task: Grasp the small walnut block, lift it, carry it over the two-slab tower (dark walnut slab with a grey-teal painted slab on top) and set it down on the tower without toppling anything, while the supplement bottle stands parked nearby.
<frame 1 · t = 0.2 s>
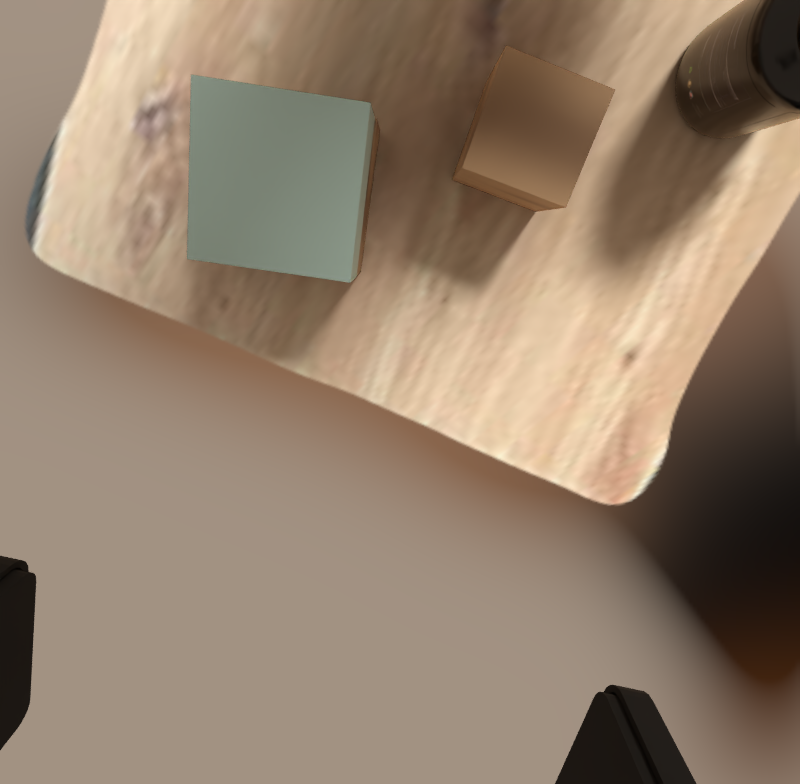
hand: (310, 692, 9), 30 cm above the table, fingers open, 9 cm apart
supplement bottle: (724, 81, 33), on the table
tower top slab: (290, 189, 32), point 4 cm above the table, touching tower base slab
walnut block: (511, 149, 34), on the table
tower base slab: (303, 192, 35), on the table, touching tower top slab
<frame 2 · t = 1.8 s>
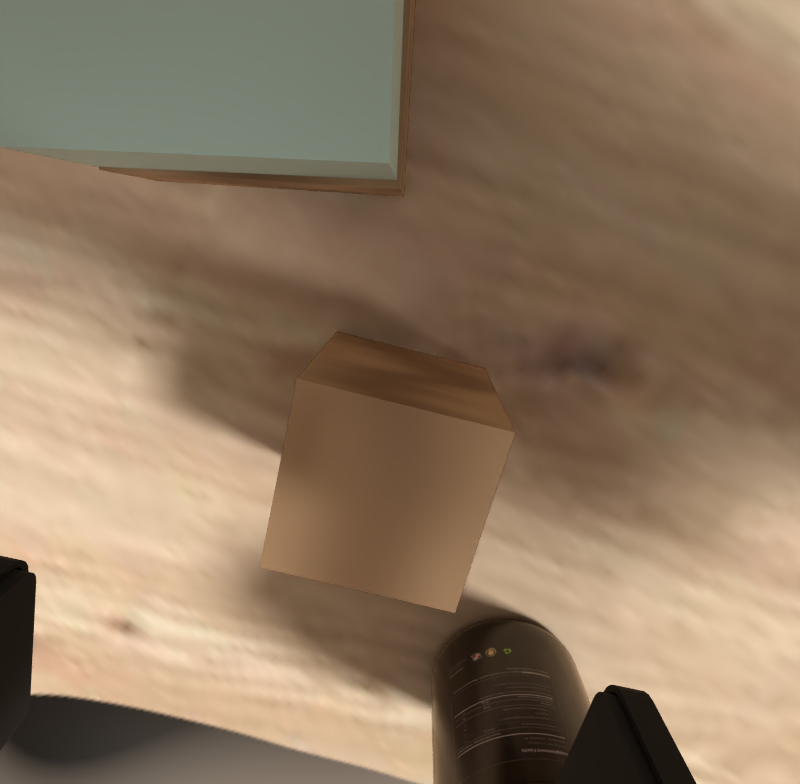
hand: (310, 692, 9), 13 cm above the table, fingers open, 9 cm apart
supplement bottle: (502, 668, 25), on the table
walnut block: (393, 419, 22), on the table
tower base slab: (282, 49, 18), on the table, touching tower top slab
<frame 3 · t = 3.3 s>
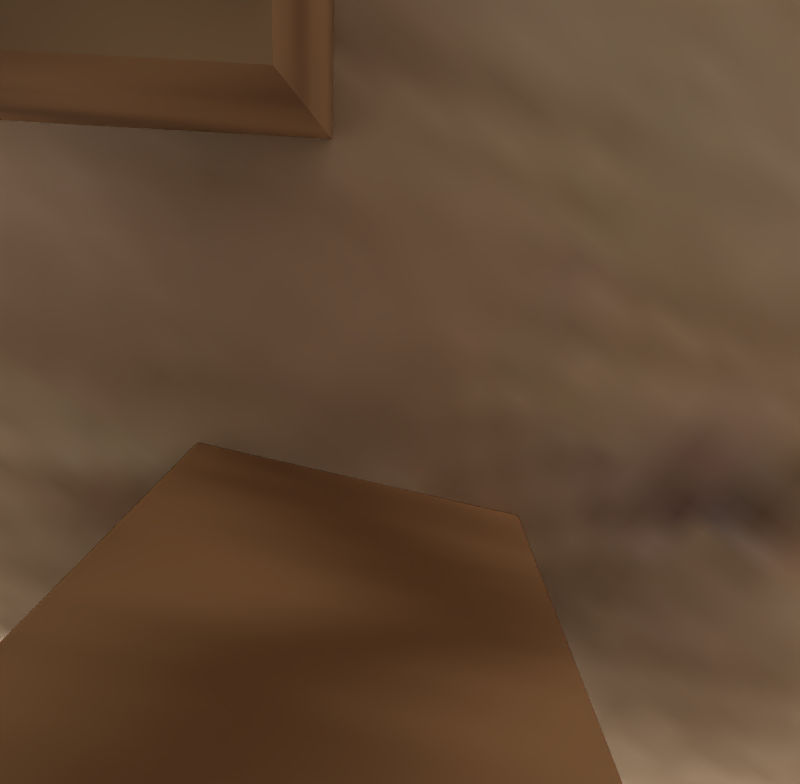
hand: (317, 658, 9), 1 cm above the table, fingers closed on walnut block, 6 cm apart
walnut block: (327, 612, 11), on the table, touching gripper
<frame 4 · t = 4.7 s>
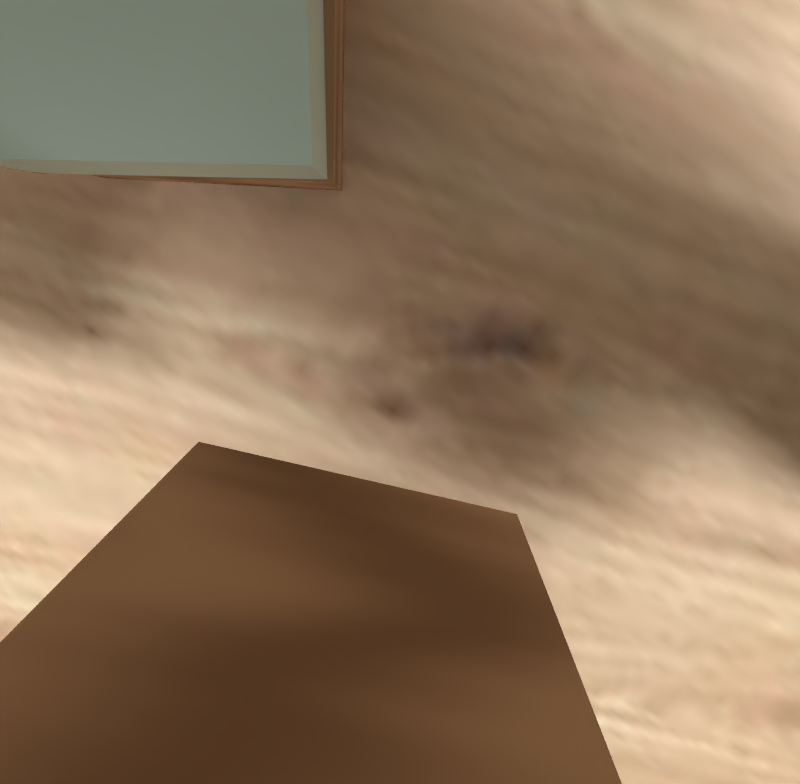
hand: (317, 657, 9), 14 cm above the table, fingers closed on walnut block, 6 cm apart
tower top slab: (170, 12, 16), point 4 cm above the table, touching tower base slab
walnut block: (328, 610, 11), point 13 cm above the table, touching gripper
tower base slab: (221, 53, 19), on the table, touching tower top slab
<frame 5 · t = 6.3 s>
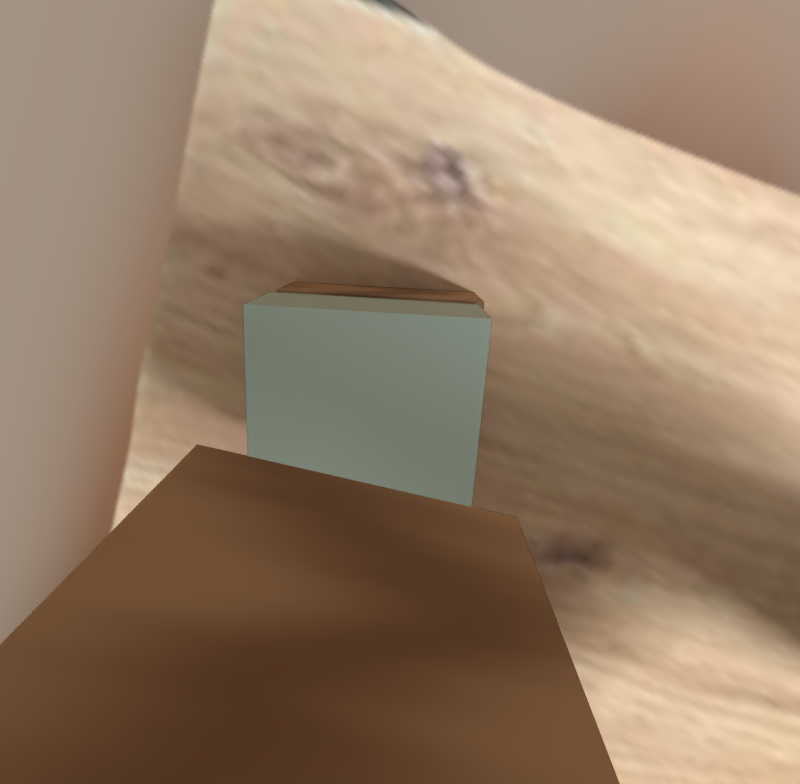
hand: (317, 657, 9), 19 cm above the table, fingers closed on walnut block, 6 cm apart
tower top slab: (370, 396, 24), point 4 cm above the table, touching tower base slab
walnut block: (327, 613, 11), point 18 cm above the table, touching gripper
tower base slab: (380, 372, 28), on the table, touching tower top slab
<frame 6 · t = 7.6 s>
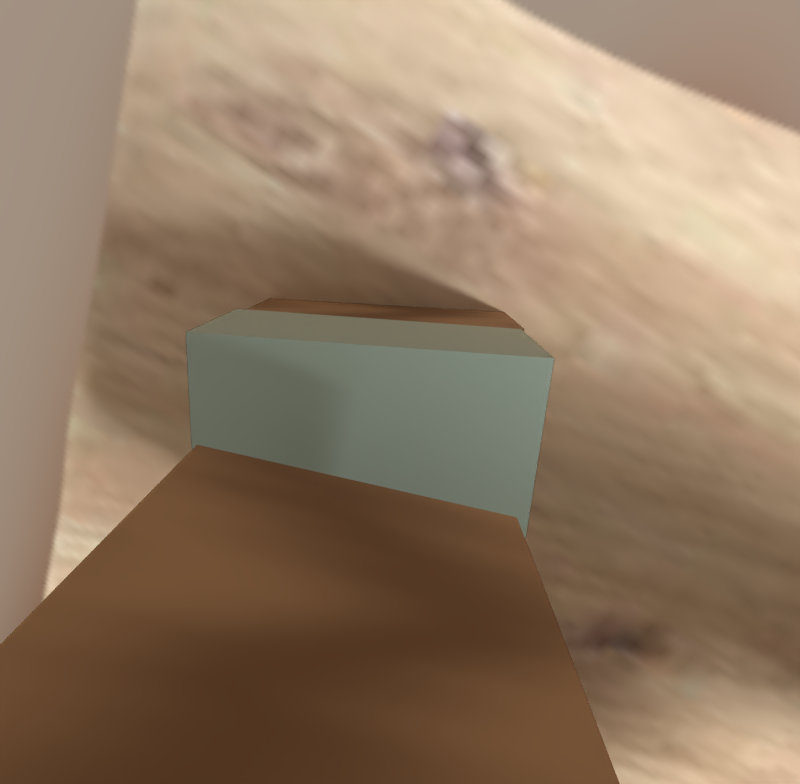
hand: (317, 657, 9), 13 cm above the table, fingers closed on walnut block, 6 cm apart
tower top slab: (371, 449, 18), point 4 cm above the table, touching tower base slab
walnut block: (327, 613, 11), point 11 cm above the table, touching gripper
tower base slab: (381, 413, 22), on the table, touching tower top slab
when the fingers open (9 cm above the table, at t = 8.9 s): walnut block stays where it is, resting on tower top slab.
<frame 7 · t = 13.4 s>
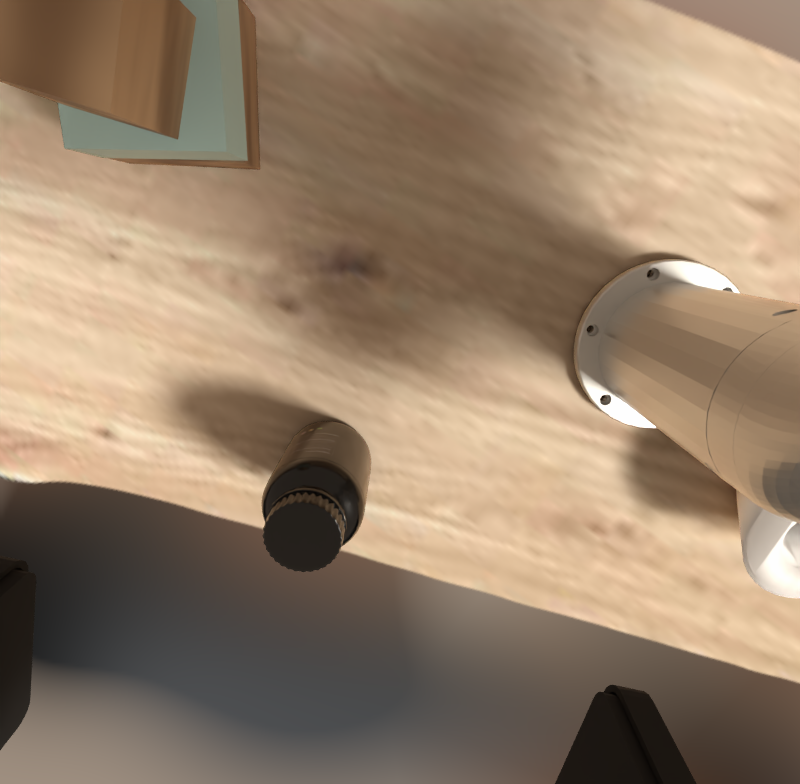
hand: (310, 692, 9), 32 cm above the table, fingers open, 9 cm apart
supplement bottle: (330, 456, 43), on the table
tower top slab: (167, 78, 32), point 4 cm above the table, touching walnut block
walnut block: (130, 62, 28), point 8 cm above the table, touching tower top slab
tower base slab: (192, 94, 35), on the table
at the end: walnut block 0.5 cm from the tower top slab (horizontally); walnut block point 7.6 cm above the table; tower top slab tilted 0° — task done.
